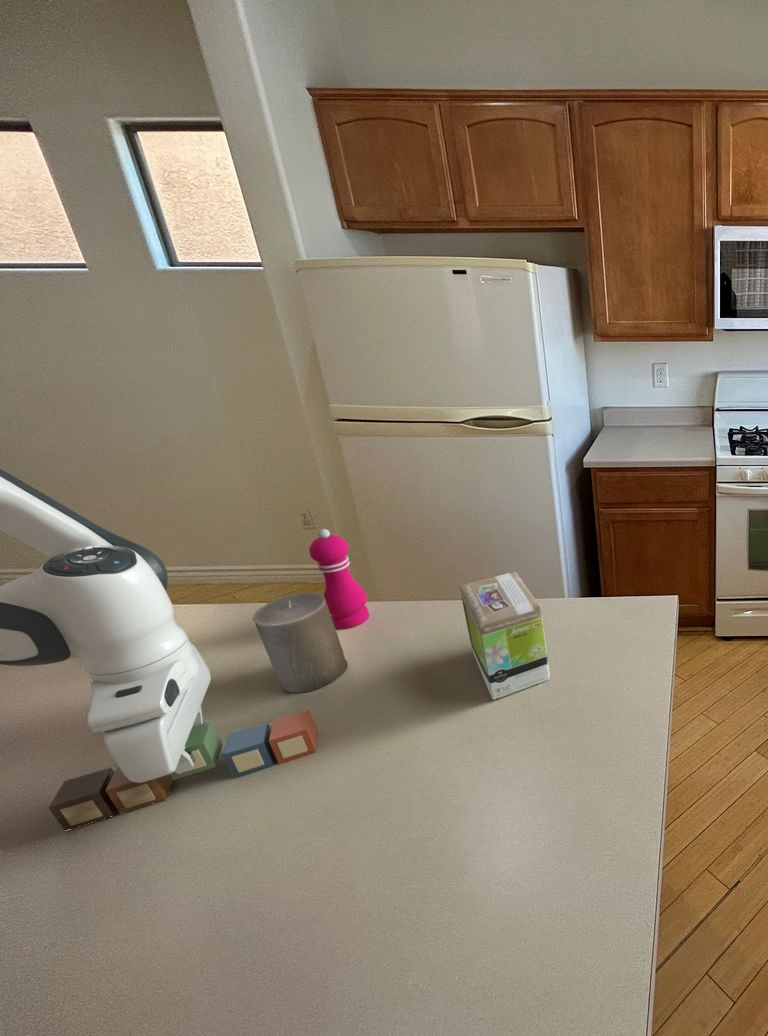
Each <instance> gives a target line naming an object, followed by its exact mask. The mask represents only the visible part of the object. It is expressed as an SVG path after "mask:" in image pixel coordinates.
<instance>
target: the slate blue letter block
mask: <svg viewBox="0 0 768 1036" xmlns="http://www.w3.org/2000/svg"><path fill="white" fill-rule="evenodd" d="M271 728H272V727H270V724H269V722H263V723H259V724H256V725H252V726H250V727H246V728H243V729H239V730H236V731H232V732H229V733H228V735H227V739H226V742H225V745H224V748H223V752H222V757H223V759H224V762H225V764H226V765H227V768H228V770H229V771H230V774H231V775H232V777H233V779H236V778H239V777H242V776H246V775H249V774H252V773H255V772H258V771H262V770H265V769H267V768H270V767H273V766H274V764H275V759H276V757H275V754H274V752H273V750H272V747H271V745H270V743H269V737H270V733H271Z"/></svg>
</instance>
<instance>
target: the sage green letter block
mask: <svg viewBox="0 0 768 1036" xmlns="http://www.w3.org/2000/svg"><path fill="white" fill-rule="evenodd" d="M222 748H223V742H222V740H221V738H220V736H219V733H218V732H217V730H216V728H215V726H214V724H213V721H207V722H203V724H200V725H196V726H193V727H192V729H191V731H190V734H189V737H188V739H187V742H186V744H185V750H184V751H185V752H187V753H188V752H192V754H193V756H194V758H195V763H194V766H193V768H192V769H191V770H189V771H186V772H183V773H175V772H173V773H171V774H170V775H171V777H172V779H173V780H174V781H175V780H178V779H180V778H181V779H182V778H185V777H187V776H191V775H194V774H198V773H200V772H204V771H207V770H210V769H213V768H216V767H217V765H218V761H219V758H220V755H221V752H222Z"/></svg>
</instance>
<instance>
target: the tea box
mask: <svg viewBox="0 0 768 1036" xmlns="http://www.w3.org/2000/svg"><path fill="white" fill-rule="evenodd" d="M459 590H460V596H461V598H460V599H461V602H462V607H463V611H464V616H465V621H466V628H467V632H468V637H469V643H470V647H471V651H472V654H473V656H474V659H475V661H476V664H477V666H478V669H479V671H480V673H481V676H482V679H483V680H484V681H483V682H485V685H486V688H487V690H488V692H489V695H490V697H491V699H492V700H493V701H494V700H496V699H500V698H503V697H506V696H509V695H511V694H514V693H517V692H520V691H523V690H526V689H528V688H530V687H533V686H535V685H536V686H537V685H538V684H542V683H544V682H546V681H549V680H550V678H551V674H550V666H549V660H548V651H547V645H546V635H545V629H544V620H543V619H544V618H543V614H542V608H541V606H540V605H539V603H538V601H537V600H536V598H535V597H534V595H533V594H532V592H531V591H530V590H529V589H528V587H527V586H526V584H525V583H524V581H523V580H522V579H521V577H520V576H519V574H518V573H517V571H512V572H507V573H504V574H501V575H500V574H499V575H496V576H492V577H488V578H485V579H480V580H476V581H473V582H469V583H465V584H461V585H459Z"/></svg>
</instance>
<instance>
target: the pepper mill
mask: <svg viewBox="0 0 768 1036" xmlns="http://www.w3.org/2000/svg"><path fill="white" fill-rule="evenodd" d="M317 535H318V537H317V538H315V539H314V540H313V541H312V542H311V543H310V545H309V548H308V552H309V557H310V558H311V559H312V560H313V561H314V562H316V566H317V569H318V572H320V573H322V575H323V577H324V582H325V588H324V593H323V595H322V596H323V597H324V598H325V600H326V603H327V606H328V608H329V611H330V614H331V617H332V620H333V624H334V626H335V629H340V630H347V629H351V628H354V627H357V626H360V625H362V624H363V623H365V622H366V621H368V619H369V617H370V612H369V609H368V606H366V604H367V602H368V595H367V594H366V591H365V590H364V589H363V586H361V585H360V584H359V583H358V582H357V581H356V580H355V579H354V578H353V576H352V575H351V572H350V570H349V565H350V564H351V562H350V560H349V556H347V554H348V553H349V545H348V543H347V541H346V540H345V539H344V538H343V537H341V536H339V535H336V534H331V532H330V531H329V530H328V529H327V528H322V529H320V530H319V531H318V533H317Z"/></svg>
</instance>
